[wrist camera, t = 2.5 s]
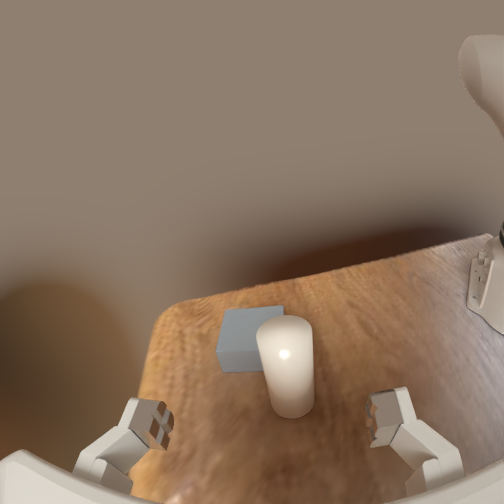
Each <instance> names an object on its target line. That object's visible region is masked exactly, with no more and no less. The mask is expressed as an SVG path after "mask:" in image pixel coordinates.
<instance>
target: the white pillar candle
mask: <svg viewBox="0 0 504 504" xmlns="http://www.w3.org/2000/svg"><path fill="white" fill-rule="evenodd" d="M256 340H257V344H258V348H259V353H260V357H261V362H262V366H263V370H264V374H265V379H266V383H267V387H268V392H269V396H270V400H271V404H272V408H273V410H274V411H275V413H276V414H278V415H279V416H281V417H283V418H288V419H295V418H299V417H302V416H304V415H306V414H307V413H308V412H309V411H310V410H311V409H312V407H313V405H314V363H313V340H312V328H311V326H310V324H309V323H308V322H307V321H306V320H304V319H303V318H301V317H298V316H293V315H282V316H277V317H274V318H271V319H269V320H267V321H266V322H264V323H263V324H262V325H261V326H260V327H259V329H258V331H257V334H256Z"/></svg>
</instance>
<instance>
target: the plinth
mask: <svg viewBox="0 0 504 504" xmlns="http://www.w3.org/2000/svg"><path fill="white" fill-rule="evenodd" d="M282 315H285V313H284V306H283V305H280V306H269V307H257V308H245V309H231V310H225V314H224V318H223V322H222V327H221V331H220V335H219V339H218V343H217V347H216V355H217V357H218V360H219V363H220V365H221V368H222V370H223V373H224V372H258V371H264V370H263V366H262V362H261V357H260V353H259V348H258V344H257V340H256V334H257V331H258V329H259V327H260V326H261V325H262V324H263V323H264V322H266V321H267V320H269V319H271V318H274V317H277V316H282Z"/></svg>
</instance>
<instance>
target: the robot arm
mask: <svg viewBox="0 0 504 504" xmlns="http://www.w3.org/2000/svg"><path fill="white" fill-rule="evenodd" d="M458 68H459V73H460V78H461V80H462V83H463V85H464V88H465V89H466V91H467V93H468V94H469V96H470V97H471V99H472V100H473V101H474V102H475V103H476V105H478V106H479V107H480V108H481V109H482V110H483V111H484V112H485V113H486V114H487V115H488V116H489V117H490V119H491V120H492V121H493V123H494V124H495V126H496V127H497V129H498V130H499V132H500V134H501V136H502V138H503V140H504V36H502V35H477V36H469V37H468V38H467V39H466V40H465V41H464V43H463V44H462V46H461V49H460V51H459V57H458ZM466 305H467V307H468V308H469V309H470V310H472V311H474V312H475V313H477V314H479V315H481V316H482V317H483V318H484V319H485V320H486V321H487V322H488V324H489V325H491V326H492V327H493V328H494V329H495V330H497V331H498V332H500V333H501V334H503V335H504V222H503V223H502V226H501V231H500V234H499V236H497V237H495V238H493V239H491V240H489V241H488V242H487V243H486V247H485V251H484V252H483V251H479V252H478V257H477V258H474V259H472V262H471V269H470V279H469V288H468V296H467V303H466ZM367 400H368V403H367V404H366V405H365V414H364V415H365V423H366V426H367V427H369V431H368V434H367V435H368V441H369V447H370V448H373V447H379V446H384V445H389V444H390V446H391V447H392V448H393V449H394V450H395V451H396V453H397V454H398V455H399V456H400V457H401V458H402V459H403V460H404V461H405V462H406V463H407V464H408V465H409V466H410V467H411V468H412V469H413V470H414V471H415V472H414V473H413V475H412V476H411V477H410V478H409V479H408V480H407V481H406V482H405V489H406V496H407V497H406V498H402V499H399V500H395V501H391V502H387V503H382V504H504V457H503V458H502V459H500V460H498V461H496V462H494V463H492V464H490V465H488V466H486V467H484V468H482V469H480V470H478V471H476V472H474V473H472V474H470V475H467V476H466V475H465V471H464V468H463V464H462V460H461V457H460V453H459V450H458V448H456V447H455V446H454V445H452V444H451V443H450V442H449V441H447V440H446V439H445V438H443V437H442V436H441V435H440V434H438V433H437V432H436V431H435V430H433V429H432V428H431V427H430V426H428V425H427V424H426V423H424V422H423V421H422V420H421V419H420V420H417V418H416V414H415V411H414V408H413V405H412V401H411V398H410V395H409V392H408V389H407V388H406V387H405V386H404V387H399V388H395V389H389V390H385V391H380V392H375V393H370V394H368V397H367ZM166 406H167V405H166V404H165V403H164V401H155V400H146V399H140V398H131V399H130V400H129V401H128V404H127V406H126V408H125V410H124V413H123V415H122V418H121V420H120V422H119V425H118V427H117V426H115V427H113V428H112V429H111V430H109V431H108V432H107V433H105V435H103V436H102V437H100V438H99V439H98V440H96V441H95V442H94V443H92V444H91V445H90V446H88V447H87V448H85V449H84V450H83V451H81V454H80V456H79V458H78V460H77V463H76V465H75V468H74V470H73V472H72V473H70V472H67V471H65V470H63V469H61V468H59V467H57V466H55V465H53V464H51V463H49V462H47V461H45V460H43V459H41V458H39V457H37V456H35V455H34V454H32V453H30V452H28V451H26V450H23V449H21V450H18V451H16V452H14V453H13V454H11V455H9V456H7V457H5V458H4V459H3V460H1V461H0V504H163V503H159V502H154V501H150V500H147V499H143V498H139V497H136V496H132V495H130V493H131V489H132V486H133V481H132V480H131V479H130V478H128V477H127V476H125V473H126V472H128V471H129V470H130V469H131V468H132V467H133V466H134V465H135V464H136V463H137V462H138V461H139V460H140V459H141V458H142V457H143V456H144V455H145V454H146V453H147V452H148V451H149V450H150V449H157V450H163V451H167V447H168V444H169V440H170V438H169V435H168V434H169V433H170V432H171V431H172V430H173V426H174V417H173V414H172V413H171V411H170V410H168V409H166ZM149 448H150V449H149Z"/></svg>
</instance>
